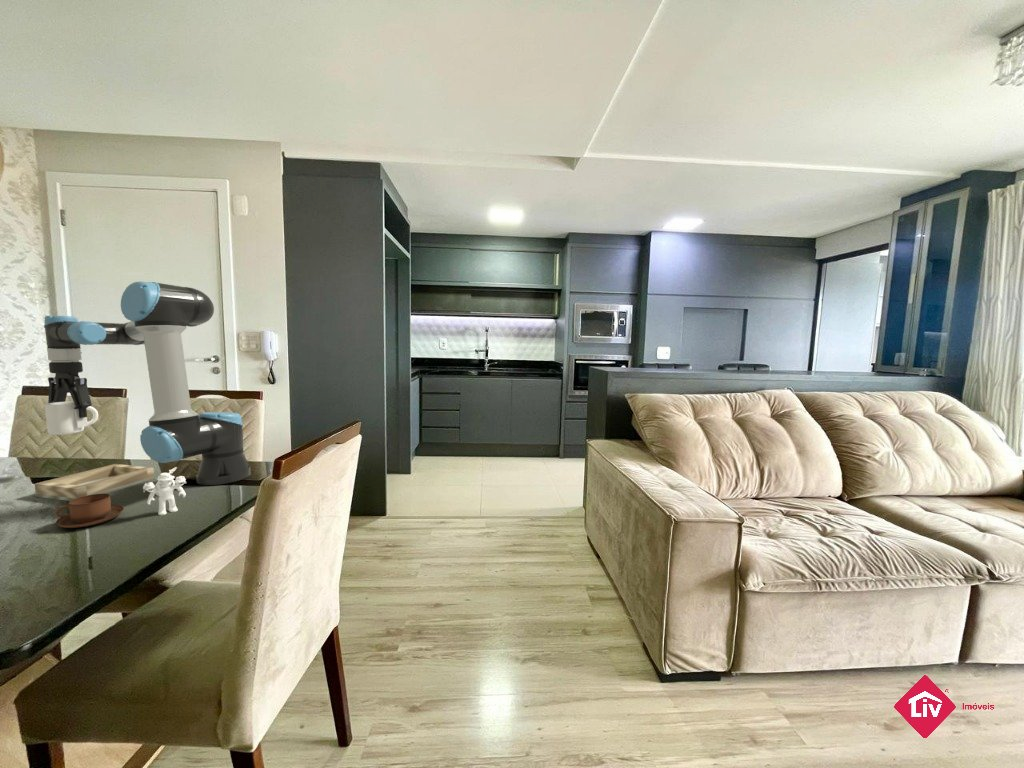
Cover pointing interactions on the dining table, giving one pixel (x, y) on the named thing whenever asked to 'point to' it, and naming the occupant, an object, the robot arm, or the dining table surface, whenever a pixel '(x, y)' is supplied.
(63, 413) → the mug
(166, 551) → the dining table surface
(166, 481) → the white toy figurine
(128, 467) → the board
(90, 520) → the cup and saucer
